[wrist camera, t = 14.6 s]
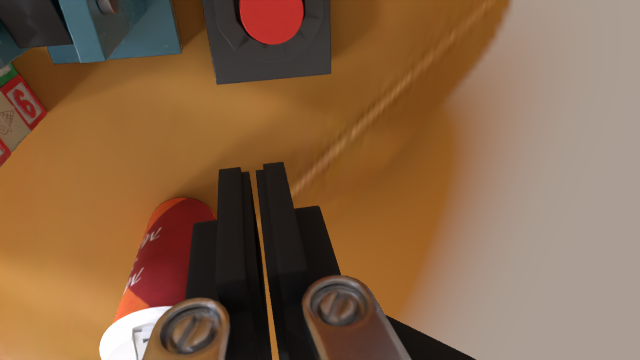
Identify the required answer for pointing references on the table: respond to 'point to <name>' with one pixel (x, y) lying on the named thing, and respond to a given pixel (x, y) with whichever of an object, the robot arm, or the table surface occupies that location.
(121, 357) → the paper cup
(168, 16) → the bracket
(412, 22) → the table surface
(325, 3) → the control block
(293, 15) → the button
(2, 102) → the stack of blocks
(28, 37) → the lever
